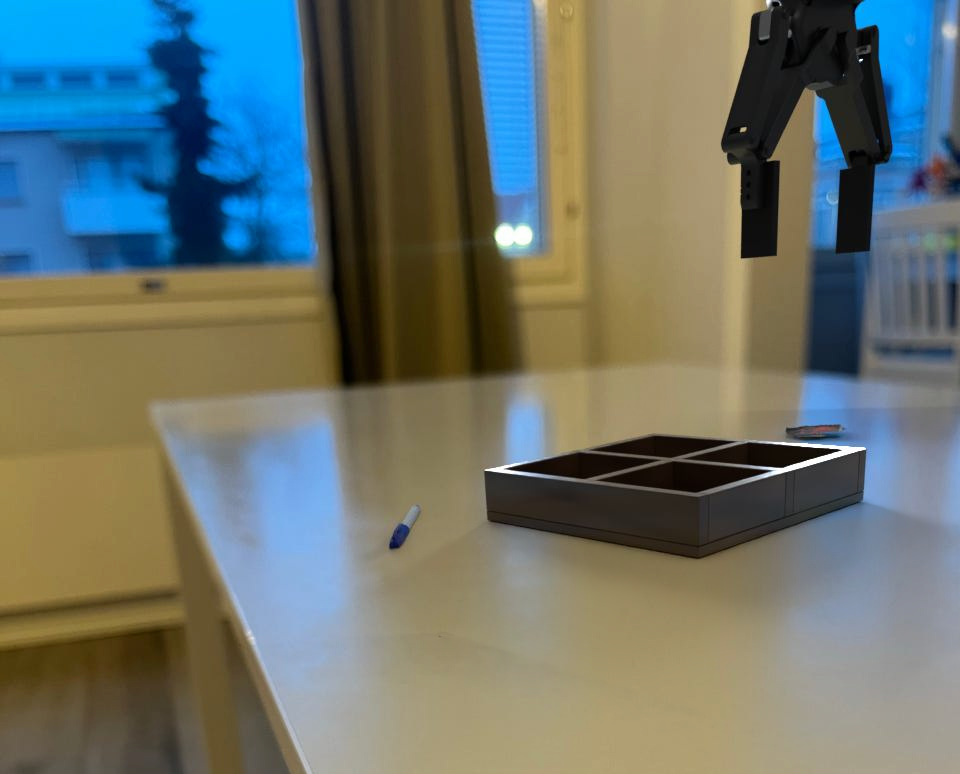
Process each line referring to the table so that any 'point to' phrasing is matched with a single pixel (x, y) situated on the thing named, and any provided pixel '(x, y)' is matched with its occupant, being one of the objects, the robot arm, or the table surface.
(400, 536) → the blue and white marker
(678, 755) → the table surface
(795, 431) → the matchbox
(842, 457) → the grid
